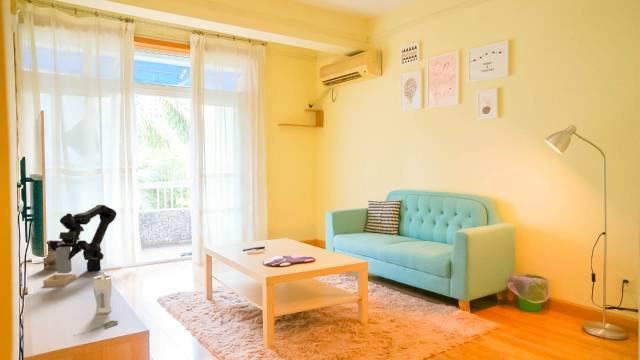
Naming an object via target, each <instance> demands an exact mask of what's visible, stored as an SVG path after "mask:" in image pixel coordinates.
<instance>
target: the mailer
mask: <svg viewBox="0 0 640 360" xmlns="http://www.w3.org/2000/svg"><path fill="white" fill-rule="evenodd" d="M80 277H81V275H76V274H75V273H56V274H53V275H51V276H49V277H48V278H45V279H43V280H42V283H43V287H65V286H67V285H69V284H70V283H72V282H74V281H75V280H77V279H78V278H79V279H80Z"/></svg>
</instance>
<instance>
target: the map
mask: <svg viewBox="0 0 640 360" xmlns="http://www.w3.org/2000/svg"><path fill="white" fill-rule="evenodd" d="M117 324H118V320H109V321H107V322H105V323H103V324H101V325H100V327H103V331H104V330H106V329H109V328H111V327H113V326H116V325H117ZM73 336H74V337H75V334H73Z"/></svg>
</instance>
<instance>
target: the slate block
mask: <svg viewBox="0 0 640 360" xmlns="http://www.w3.org/2000/svg"><path fill="white" fill-rule="evenodd" d="M71 250H72V248H71V247H59V248H57V249H56V253H57V270H56V271H57V274H70V272H72V271H73V270H72V258H71V259H70V260H69V259H68V258H69V255H70V252H71Z"/></svg>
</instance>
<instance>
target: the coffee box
mask: <svg viewBox="0 0 640 360" xmlns="http://www.w3.org/2000/svg"><path fill="white" fill-rule="evenodd" d="M50 241H54V240H50V239H49V240H48V241H46V242H47V244H49V242H50ZM58 241H59V243H64V242H62V240H58ZM42 259H43V270H52V271H54V270H55V271H57V253H56V251H54V250H52V249H51V248H50V246H49V245H48V255H47V257H46V258H43V257H42Z"/></svg>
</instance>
